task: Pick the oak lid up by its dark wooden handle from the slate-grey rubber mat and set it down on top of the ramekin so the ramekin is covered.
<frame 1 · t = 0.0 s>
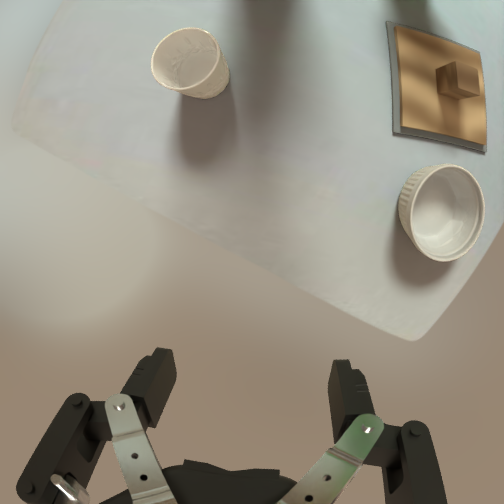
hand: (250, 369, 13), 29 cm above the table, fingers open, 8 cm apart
grey mat: (442, 86, 31), on the table
oak lid: (444, 85, 30), resting on grey mat
white cup: (206, 77, 35), on the table
ramekin: (428, 204, 38), on the table
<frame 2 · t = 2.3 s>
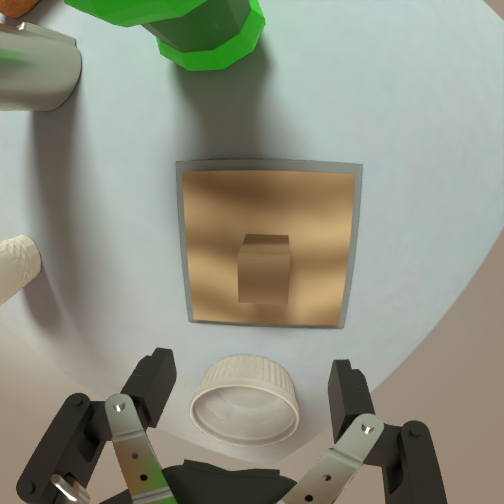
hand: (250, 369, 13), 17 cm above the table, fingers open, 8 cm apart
grey mat: (267, 249, 30), on the table
oak lid: (267, 251, 29), resting on grey mat
white cup: (28, 255, 34), on the table
plastic bottle: (217, 38, 23), on the table
ramekin: (249, 381, 37), on the table
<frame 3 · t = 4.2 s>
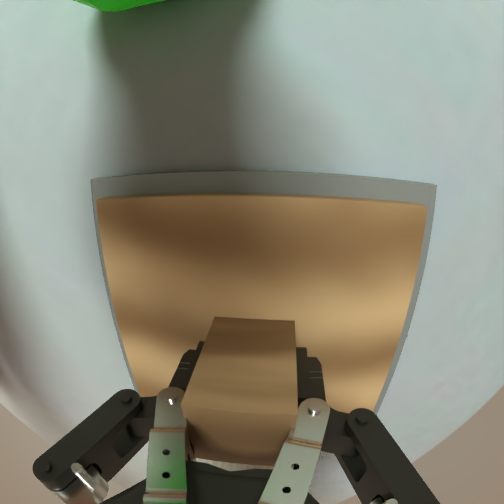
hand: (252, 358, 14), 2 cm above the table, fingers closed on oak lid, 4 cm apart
grey mat: (256, 333, 16), on the table
oak lid: (255, 339, 16), resting on grey mat, touching gripper
ramekin: (235, 472, 23), on the table
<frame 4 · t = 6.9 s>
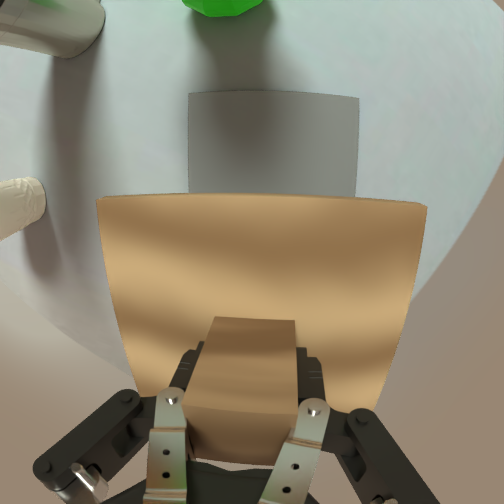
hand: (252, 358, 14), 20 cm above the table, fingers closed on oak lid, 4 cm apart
grey mat: (272, 173, 30), on the table
oak lid: (255, 338, 16), point 18 cm above the table, touching gripper
white cup: (33, 198, 34), on the table
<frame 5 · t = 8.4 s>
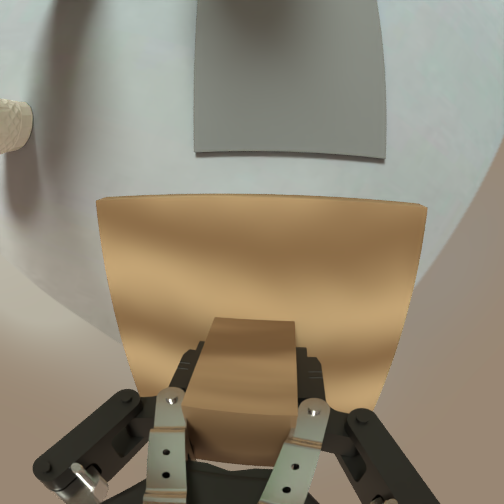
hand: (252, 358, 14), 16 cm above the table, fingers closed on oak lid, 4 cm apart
grey mat: (290, 60, 23), on the table
oak lid: (255, 339, 16), point 14 cm above the table, touching gripper
white cup: (20, 125, 27), on the table
when the fingers open (10 cm above the table, at t = 9.7 s): oak lid drops 2 cm, resting on ramekin.
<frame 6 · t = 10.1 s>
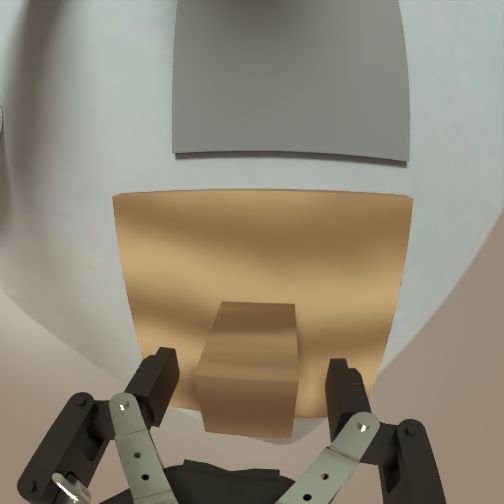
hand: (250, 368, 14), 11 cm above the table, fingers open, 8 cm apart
grey mat: (292, 40, 17), on the table
oak lid: (259, 323, 17), point 7 cm above the table, touching ramekin
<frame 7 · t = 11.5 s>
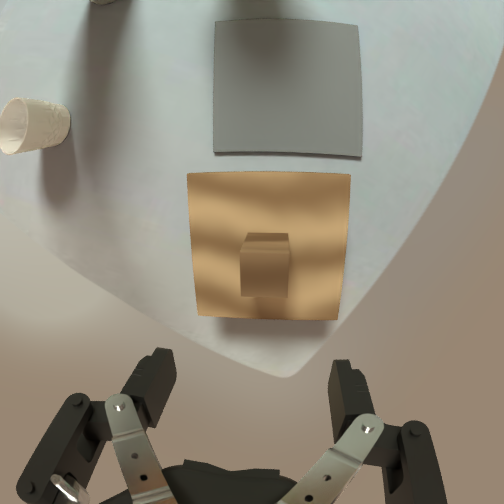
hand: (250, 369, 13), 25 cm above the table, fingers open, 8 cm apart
grey mat: (288, 81, 30), on the table
oak lid: (268, 248, 31), point 7 cm above the table, touching ramekin
white cup: (57, 125, 35), on the table
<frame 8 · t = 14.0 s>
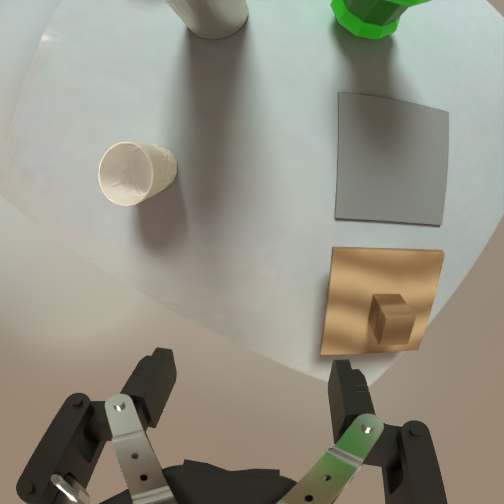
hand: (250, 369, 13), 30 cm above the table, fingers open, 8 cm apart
grey mat: (396, 160, 37), on the table
oak lid: (381, 303, 37), point 7 cm above the table, touching ramekin
white cup: (157, 167, 41), on the table
plastic bottle: (359, 20, 30), on the table
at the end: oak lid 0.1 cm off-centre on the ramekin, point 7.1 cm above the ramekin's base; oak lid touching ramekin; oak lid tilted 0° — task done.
